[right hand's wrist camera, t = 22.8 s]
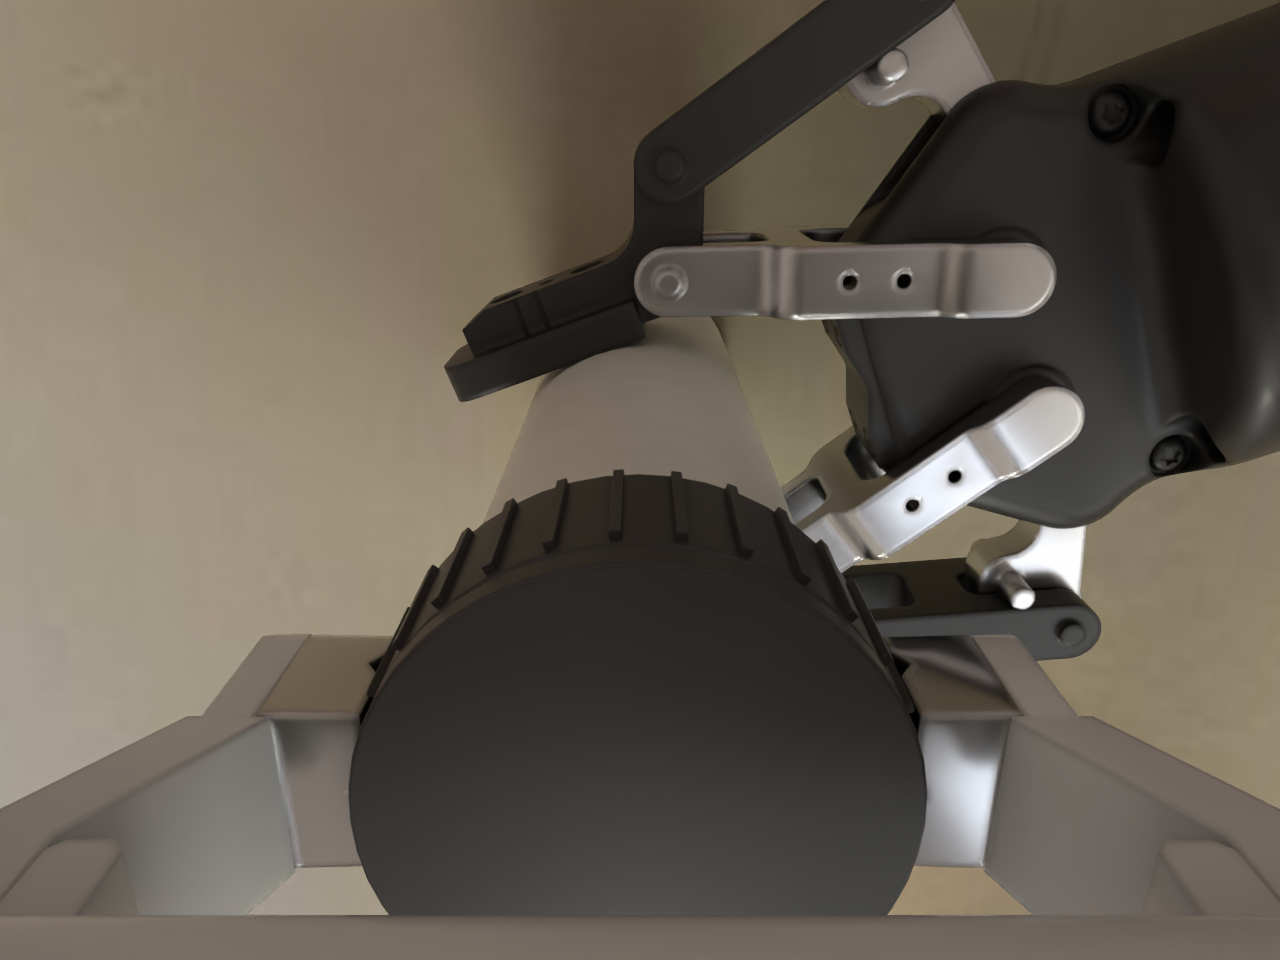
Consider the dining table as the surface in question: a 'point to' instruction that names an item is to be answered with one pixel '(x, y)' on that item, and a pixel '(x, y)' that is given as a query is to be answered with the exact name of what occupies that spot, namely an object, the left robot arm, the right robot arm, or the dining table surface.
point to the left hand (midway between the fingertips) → (515, 494)
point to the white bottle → (644, 419)
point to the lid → (638, 719)
